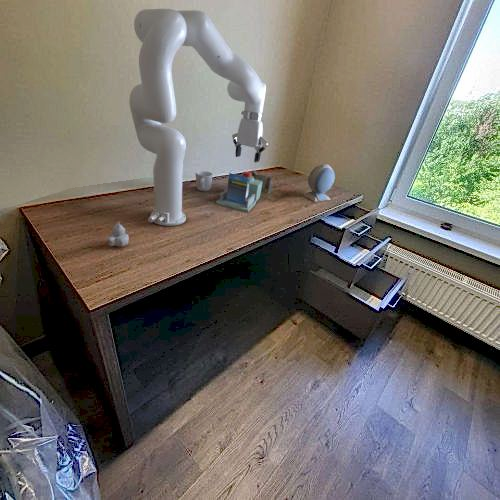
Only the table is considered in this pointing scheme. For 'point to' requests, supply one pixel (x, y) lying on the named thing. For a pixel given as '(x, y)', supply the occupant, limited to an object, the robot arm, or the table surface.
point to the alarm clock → (320, 182)
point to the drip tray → (235, 205)
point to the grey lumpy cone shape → (118, 236)
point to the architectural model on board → (266, 182)
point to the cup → (203, 180)
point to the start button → (247, 174)
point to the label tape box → (237, 188)
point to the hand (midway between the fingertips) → (247, 159)
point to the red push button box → (253, 187)
